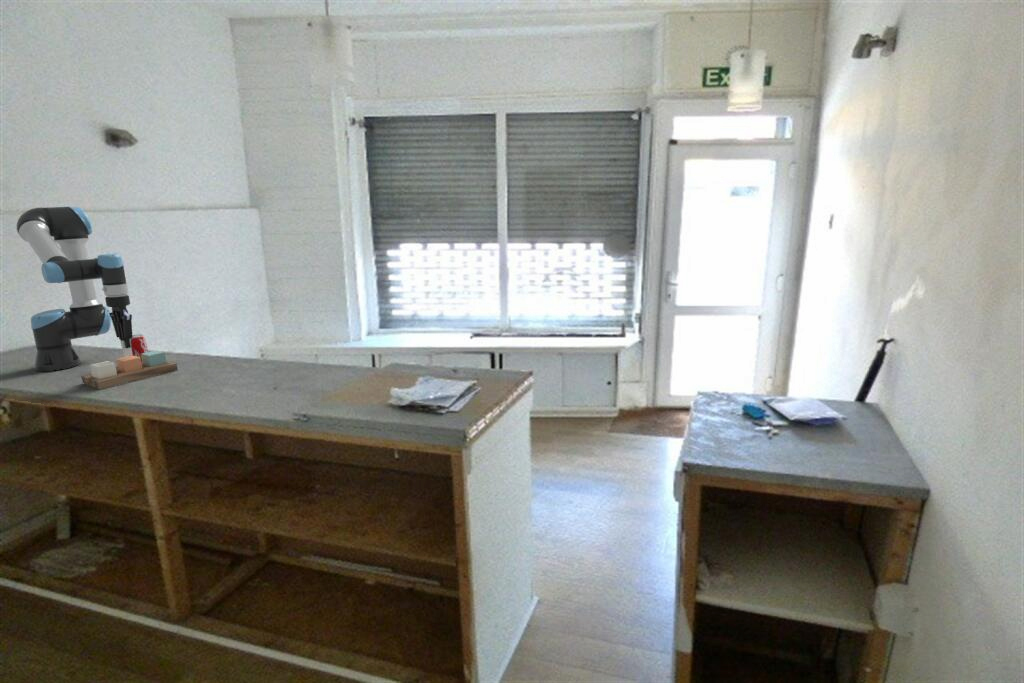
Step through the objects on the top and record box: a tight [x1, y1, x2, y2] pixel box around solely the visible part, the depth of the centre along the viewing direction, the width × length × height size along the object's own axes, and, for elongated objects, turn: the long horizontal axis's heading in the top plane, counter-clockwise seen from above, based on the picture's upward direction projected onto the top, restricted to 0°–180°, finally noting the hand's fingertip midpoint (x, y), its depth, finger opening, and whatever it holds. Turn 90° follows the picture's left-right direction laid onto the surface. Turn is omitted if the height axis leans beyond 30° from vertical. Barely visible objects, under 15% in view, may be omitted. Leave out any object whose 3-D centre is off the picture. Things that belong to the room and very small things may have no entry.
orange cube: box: [115, 356, 142, 373], centre depth 227 cm, size 6×6×6 cm
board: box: [81, 360, 178, 390], centre depth 228 cm, size 14×28×3 cm, turn 146°
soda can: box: [130, 334, 149, 362], centre depth 245 cm, size 7×7×12 cm
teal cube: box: [141, 349, 167, 367], centre depth 234 cm, size 6×6×6 cm
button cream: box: [89, 360, 117, 379], centre depth 220 cm, size 6×6×6 cm
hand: (128, 355), depth 226 cm, fingers closed
